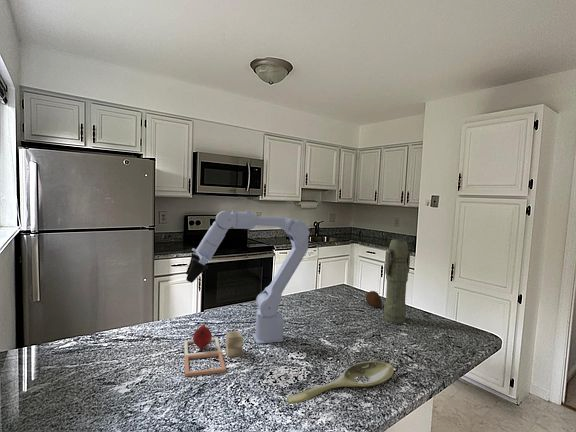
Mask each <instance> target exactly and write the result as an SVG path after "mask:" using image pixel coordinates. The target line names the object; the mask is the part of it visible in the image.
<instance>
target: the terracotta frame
mask: <svg viewBox="0 0 576 432" xmlns="http://www.w3.org/2000/svg"><path fill="white" fill-rule="evenodd" d="M212 357H213V358H215V357H218V361H219V365H220V367H217V368H210V369H201V370H192V371H190V369H189V360H192V359H193V360H194V359H202V358H203V359H204V358H212ZM226 371H227V369H226V364H225V362H224V357H223V353H222V351H221V352H214V353H204V354H194V355H185V354H184V377H185V378H186V377H193V376H194V377H195V376H196V377H197V376H202V375H212V374H219V373H227V372H226Z"/></svg>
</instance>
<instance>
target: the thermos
mask: <svg viewBox="0 0 576 432" xmlns="http://www.w3.org/2000/svg"><path fill="white" fill-rule="evenodd" d="M410 264H411V252H410V251H409V244H408V241H407V240H406V239H405V238H392V239H391V240H390V243H389V247H388V250H387V251H386V253H385V268H384V269H385V270H384V272H385V279H386V290H385V291H386V292H385V302H384V306H383V307H384V309H383V314H384V316H383V319H385V320H384V321H386V320H387V321H389V322H388V323H390V322H392V323H391V324H395V323H398V324H399V323H402V324H404V322H406V316H407V305H406V297H407V295H406V294H407V293H406V292H407V283H408V279H409V273H410ZM387 321H386V322H387ZM398 324H397V325H398ZM399 325H400V324H399Z"/></svg>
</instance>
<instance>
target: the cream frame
mask: <svg viewBox="0 0 576 432" xmlns="http://www.w3.org/2000/svg"><path fill="white" fill-rule="evenodd" d="M183 342H184V343H183V346H184V349H183V351H184V356H185V355H194V354H204V353H214V352H221V353H222V350H221V349H222V348H221V345H220V342H219V338H218V337H212V338H211V341H210V343H211V342H212V343H213V342H214V344H215V348H216V350H213V351H202V352H192V353H191V352H189V346H188V345H190V344H195V343H194V341H193V339H185V340H184V341H183Z"/></svg>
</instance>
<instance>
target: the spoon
mask: <svg viewBox="0 0 576 432" xmlns="http://www.w3.org/2000/svg"><path fill="white" fill-rule="evenodd" d="M394 371H395V370H394V367H393V366H392V365H391V364H390V363H386V362H383V361H378V360H376V361H375V360H374V361H373V360H370V361H364V362H358V363H355V364H353V365H351V366H348V367H347V368H346V369H344V370H343V371H342V374H340V375H339V376H338V377H337V378H336V379H335V380H333V381H331V382H328V383H325V384H322V385H319V386H316V387H315V386H314V387H313V388H309V389H305V390H303V391H299V392H298V393H294V394H292V395H290V396H287V398H286V399H285V401H286V403H287V404H290V405H291V404H293V405H295V404H298V403H302V402H304V401H308V400H309V399H312V398H313V397H316V396H317V395H320V394H321V393H323V392H326V391H328V390H330V389H336V388H343V387H344V388H345V387H346V388H367V387H374V386H377V385H380V384H383V383H385V382H387V381H389V379H391V378H392V377H393V375H394ZM357 377H367V378H369V380H367V381H365V382H358V381H356V380H355V379H356V378H357Z"/></svg>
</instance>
